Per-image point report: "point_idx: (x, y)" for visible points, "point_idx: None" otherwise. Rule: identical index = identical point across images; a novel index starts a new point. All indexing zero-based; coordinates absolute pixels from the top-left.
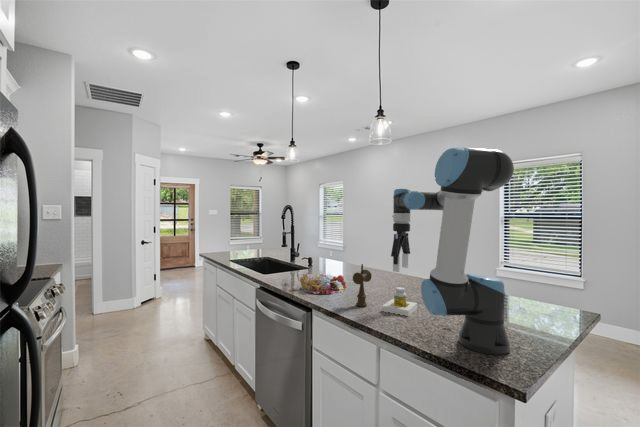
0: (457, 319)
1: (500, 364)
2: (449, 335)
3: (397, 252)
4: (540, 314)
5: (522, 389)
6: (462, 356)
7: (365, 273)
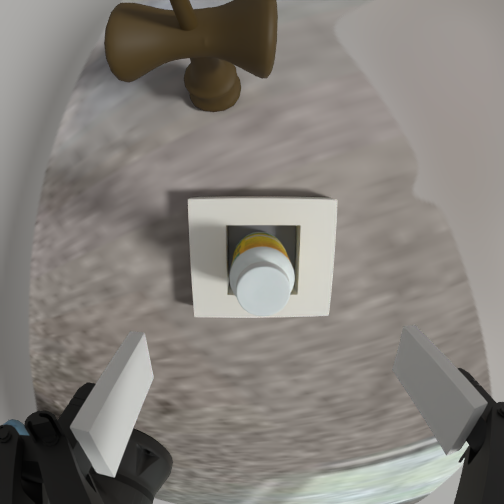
0: (268, 419)
1: None
2: None
3: (33, 495)
4: (392, 484)
5: None
6: None
7: (224, 32)
